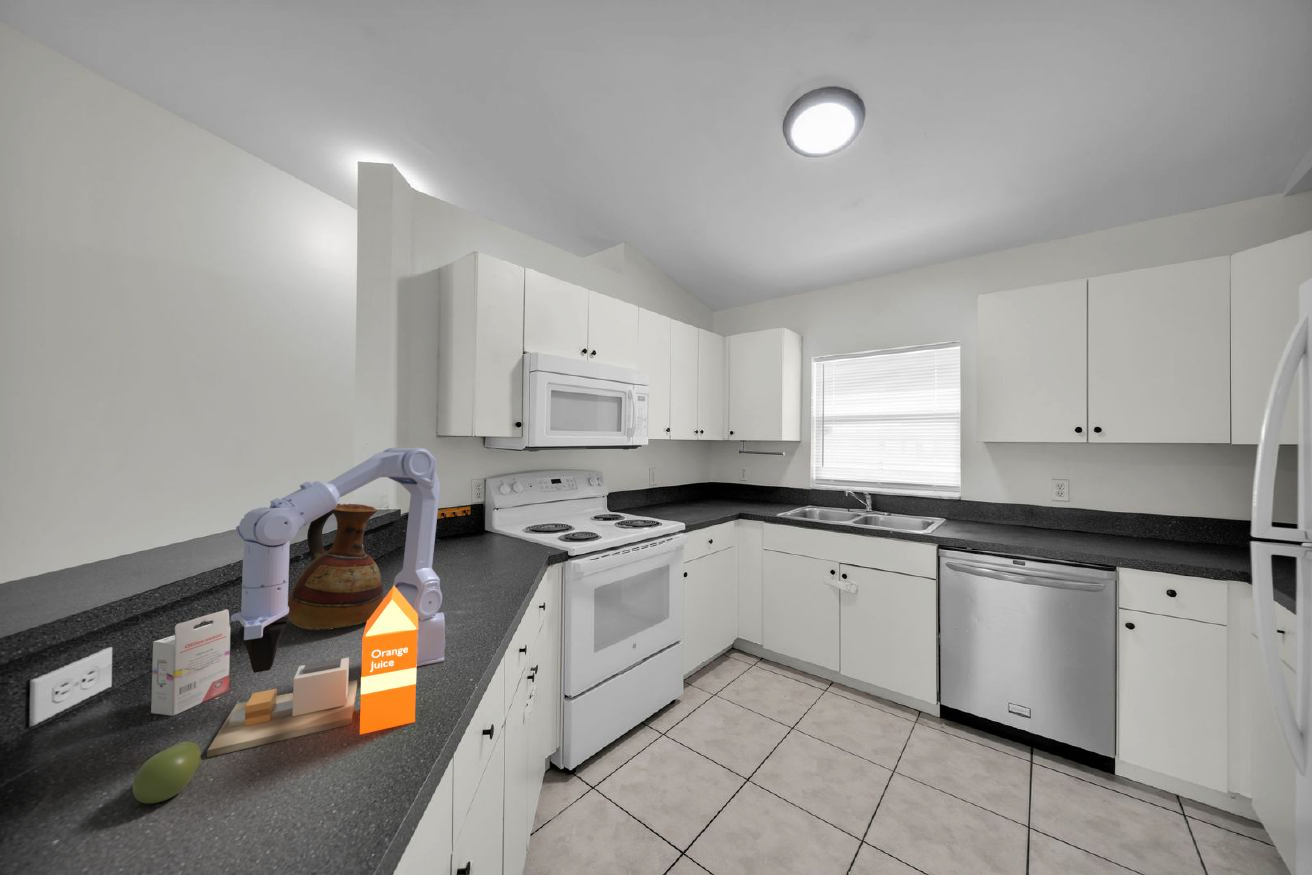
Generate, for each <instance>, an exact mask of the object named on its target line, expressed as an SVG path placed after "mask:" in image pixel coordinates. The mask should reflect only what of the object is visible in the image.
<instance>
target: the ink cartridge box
mask: <svg viewBox="0 0 1312 875" xmlns="http://www.w3.org/2000/svg"><path fill="white" fill-rule="evenodd" d="M229 612H230V611H229V609H223V610H220V611H217V612H214V613H209V614H205V615H203V616H200V617H199V616H198V617H196V618H194V619H191V620H186V621H184V622H183V621H182V622H180V623H179V622H178V623H177V624H176V625H175V626H174V635H171V636H167V637H164V638H161V639H158V640H157V639H156V640H155V641H153V643H152V665H151V666H152V669H151V670H152V673H151V703H150V704H151V708H150V709H151V710H150V713H151V714H157V715H164V716H171V717H172V716H177V715H179V714H181V713H182V712H185V711H187V710H189V709H191V708H194V707H196V706H198V705H200V704H203V703H204V702H207V701H209V700H212V699H213V698H215V697H218V696H220V695H222V694H224V693H226V692H228V691H229V689H230V688H229V685H230V660H231V659H230V657H231V655H230V654H231V625H230V613H229ZM202 622H205V623H207V622H212V623H209V624H205V625H203V626H199V627H197V628H194V627H196V626H198V625H200V624H201V623H202Z"/></svg>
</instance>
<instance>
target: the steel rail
mask: <svg viewBox="0 0 1312 875" xmlns="http://www.w3.org/2000/svg"><path fill="white" fill-rule="evenodd" d="M348 695H349V689H348V690H347V696H346V703H347V701H348ZM288 715H293V700H291V701H287V702H282V703H277V704H275V705H274V707H273V709H272V711H271V719H274V718H279V717H284V716H288ZM241 725H245V710H242V711H237V712H235V713H234V714H233V716H232V718H231V719H230V721H229V728H232V727H237V726H241Z"/></svg>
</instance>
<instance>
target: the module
mask: <svg viewBox="0 0 1312 875" xmlns="http://www.w3.org/2000/svg"><path fill="white" fill-rule="evenodd" d="M349 666H350V657H343V658H342V657H340V658H335V659H334V658H333V659H330V660H323V661H316V662H312V663H306V664H304V665H299V666H298V668H297V670H296V673H295V676H294V678H293V689H292V690H293V692H292V693H293V716H297V715H302V714H306V713H311V712H315V711H320V710H325V709H329V708H334V707H339V706H343V705H346V696H347V690H348V682H349V676H350V675H349V671H350V669H349Z"/></svg>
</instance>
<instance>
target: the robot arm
mask: <svg viewBox="0 0 1312 875" xmlns="http://www.w3.org/2000/svg"><path fill="white" fill-rule="evenodd" d="M437 461H438V460H437V459H436V457H434V456H433V455H432V453H431V452H430V451H429V450H428V449H426V448H424V447H423V448H422V447H413V448H412V447H411V448H402V447H401V448H398V447H389V448H386V449H385V450H383V451H380V452H377V453H374V454H373V455H372V456H371V457H369V458H367V459H365V460H364V461H362V462H360V463H359V464H357V465H356V466H354V467H352V468H350V469H348V470H347V471H345V472H343V473H342V474H340V475H338V476H337V477H335V478H334V479H332V480H330V481H327V482H323V481H319V480H318V481H317V480H316V481H313V482H311V481H305V482H303V483H301V484H299V487H300V489H297V490H296V491H293V492H292V493H290V494H287V495H286V496H283V497H282V498H278V497H277V498H274V499H272V500H270V502H269V503H270V505H269V507H256V508H254V509H251V510H249V511H248V512H246V514H244V516H243V518H241V520H240V522H239V525H236V527H235V530H236V533H237V536H238V537H239V538H240V539H241V540H242V541H243V557H242V576H241V577H242V578H241V580H242V582H241V607H240V608H241V610H240V611H241V612H235V613H233V614H232V615H231V616H230V621H231V622H236V621H237V622H238V621H239V623H241V625H242V626H243V627H240V628H239V630H238V632H237V634H238V635H237V637H238V639H239V640H240V641H241V643H243V645H244V647H245V649H246V650H247V653H248V658H249V662H250V665H251V666H250V667H251V670H252V672H253V673H261V672H266V671H267V672H268V671H270V670H271V669H272V667H273V664H274V662H275V659H276V654H277V650H278V647H279V646H278V645H279V643H280V639H281V636H282V633H283V631H284V630H285V627H286V625H287V623H288V622H290V619H289V617H288V613H289V607H288V602H289V584H290V583H289V581H290V580H289V577H290V545H291V541H292V540H293V539H294V538H295V537H296V536H297V534H298V531H299V529H302V528H303V527H306V526H307V525H308V524H309V525H310V523H311V522H312V521H314V520H316V519H317V518H319V517H321V516H323V515H324V514H326V513H328V512H329V511H331V510H333V509H335V508H336V506H337V504H339V501H340V499H341V498H342V497H344V496H346V495H348V494H350V493H352V492H354V491H356V490H358V489H360V488H362V487H364V486H366V485H369V484H370V483H372V482H374V481H376V480H377V479H380V478H388V479H389V480H392V481H394V482H396V483H399V484H400V485H401V486H402V487H403V488H404V489H405V490H407V491H408V493H409V494H410V496H409V497H410V500H409V508H408V516H407V517H408V518H407V525H406V527H407V528H406V536H405V537H406V538H405V545H404V556H403V562H402V570H400V572H398V573H397V574H396V575H395V577H394V580H393V585H394V586H395V587H396V589H397V590H398V591H399V592H400V593H401V595H402V596H403V597H404V598H405V599H406V601H407V602H408V603H409V604H410V605H411V607H412V608H413V609H414V610H415V612H416V613H417V614H418V630H417V658H416V666H417V667H420V666H426V665H431V664H435V663H441V662H444V661H445V648H446V638H445V637H446V636H445V634H446V632H445V631H446V624H445V623H446V621H445V613H444V612H438V611H439V610H440V608H441V606H442V602H443V593H442V591H441V587H440V584H441V579H440V577H439V576H438V575H437V573H436V572H435V571H434V569H433V563H434V562H433V561H434V553H435V541H436V532H437V520H438V512H439V504H440V503H439V500H440V499H439V498H440V492H441V490H440V489H441V484H440V480H439V477H438V474H437V463H438V462H437ZM392 588H393V586H392V587H391V589H392ZM286 616H287V617H286Z"/></svg>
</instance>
